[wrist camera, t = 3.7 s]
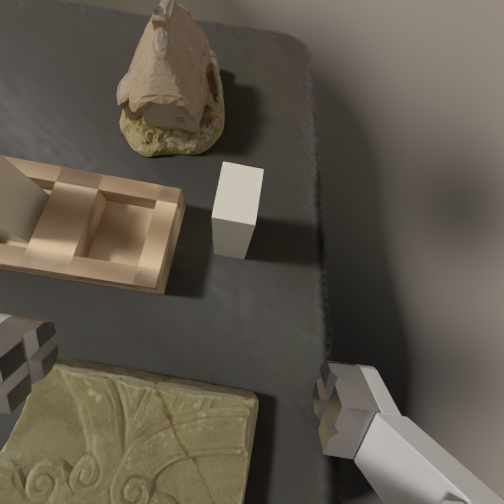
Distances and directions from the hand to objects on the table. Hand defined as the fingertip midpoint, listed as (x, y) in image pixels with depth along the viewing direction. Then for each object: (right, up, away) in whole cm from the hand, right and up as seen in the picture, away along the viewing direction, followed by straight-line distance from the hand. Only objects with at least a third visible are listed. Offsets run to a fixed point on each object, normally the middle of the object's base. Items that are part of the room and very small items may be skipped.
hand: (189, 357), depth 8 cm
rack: (-14, +5, +17) cm, 22 cm away
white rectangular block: (0, +5, +19) cm, 19 cm away
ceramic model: (-7, +20, +23) cm, 31 cm away
